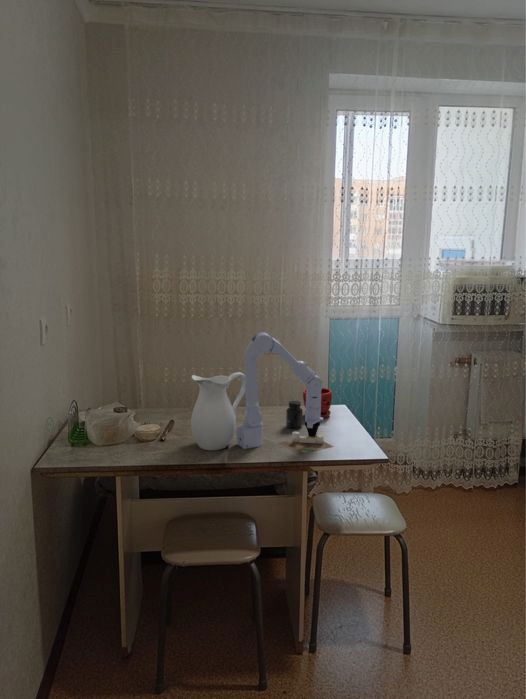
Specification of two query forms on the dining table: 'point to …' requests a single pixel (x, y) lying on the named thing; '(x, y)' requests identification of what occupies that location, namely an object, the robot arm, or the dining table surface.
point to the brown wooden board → (304, 446)
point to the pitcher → (215, 412)
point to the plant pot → (322, 401)
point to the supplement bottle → (294, 415)
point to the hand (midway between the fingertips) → (312, 440)
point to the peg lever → (307, 438)
